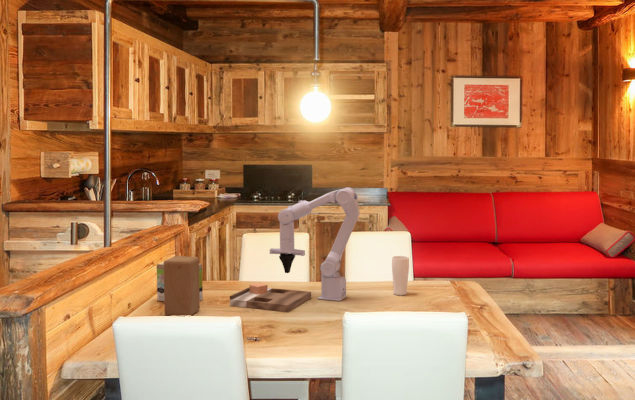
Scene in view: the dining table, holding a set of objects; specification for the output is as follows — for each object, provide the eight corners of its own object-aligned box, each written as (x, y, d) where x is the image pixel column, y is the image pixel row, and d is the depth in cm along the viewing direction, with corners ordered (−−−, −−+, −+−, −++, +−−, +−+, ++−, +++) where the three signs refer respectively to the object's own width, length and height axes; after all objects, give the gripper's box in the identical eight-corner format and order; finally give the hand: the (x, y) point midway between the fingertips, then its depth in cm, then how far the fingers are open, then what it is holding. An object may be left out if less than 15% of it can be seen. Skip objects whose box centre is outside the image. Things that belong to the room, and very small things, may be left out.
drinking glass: (408, 292, 264) (408, 256, 263) (409, 296, 258) (409, 259, 256) (391, 292, 265) (391, 255, 263) (391, 296, 258) (392, 258, 257)
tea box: (156, 301, 251) (155, 263, 249) (173, 295, 260) (172, 259, 258) (187, 306, 244) (186, 267, 242) (203, 300, 253) (203, 262, 251)
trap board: (311, 298, 255) (311, 288, 255) (288, 312, 235) (288, 302, 234) (256, 292, 264) (256, 283, 264) (229, 305, 244) (229, 296, 243)
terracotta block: (267, 292, 254) (267, 284, 254) (257, 294, 251) (257, 286, 250) (259, 290, 258) (259, 282, 257) (249, 292, 254) (249, 284, 254)
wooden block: (190, 317, 228) (188, 261, 226) (163, 316, 230) (162, 260, 228) (200, 310, 238) (199, 256, 236) (175, 308, 240) (174, 255, 238)
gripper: (307, 238, 258) (308, 271, 260) (274, 236, 263) (275, 269, 265) (301, 240, 252) (301, 275, 253) (267, 239, 257) (267, 272, 258)
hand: (287, 272), depth 258 cm, fingers closed
